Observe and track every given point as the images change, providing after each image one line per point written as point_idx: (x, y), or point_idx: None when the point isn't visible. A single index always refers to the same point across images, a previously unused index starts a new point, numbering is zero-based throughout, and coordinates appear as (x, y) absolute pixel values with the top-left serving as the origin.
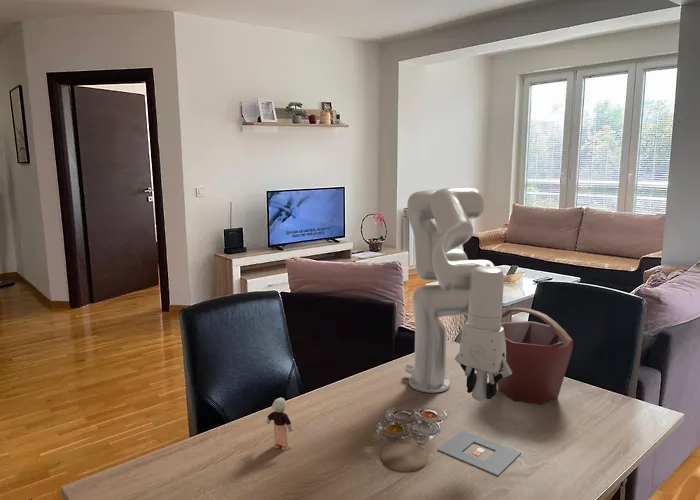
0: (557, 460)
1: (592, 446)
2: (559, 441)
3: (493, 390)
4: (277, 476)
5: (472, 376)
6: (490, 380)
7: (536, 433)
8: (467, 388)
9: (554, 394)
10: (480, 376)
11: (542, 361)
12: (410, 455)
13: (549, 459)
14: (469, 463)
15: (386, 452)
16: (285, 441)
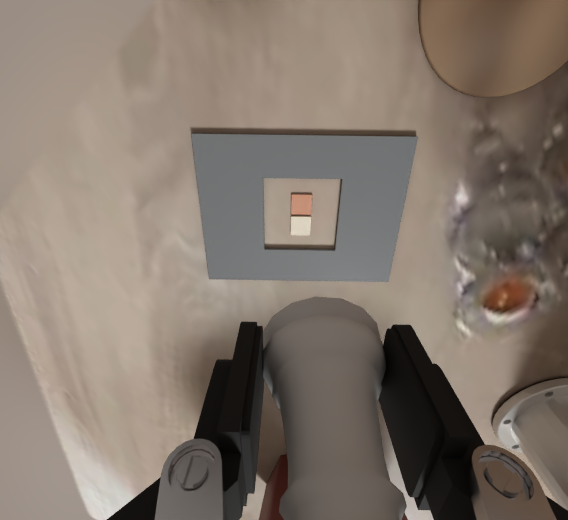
0: (133, 303)
1: (120, 386)
2: (177, 368)
3: (207, 390)
4: None
5: (433, 465)
6: (212, 479)
7: None
8: (420, 344)
9: (267, 491)
10: (338, 494)
11: None
12: (496, 13)
13: (148, 296)
14: (292, 135)
15: None
16: None
